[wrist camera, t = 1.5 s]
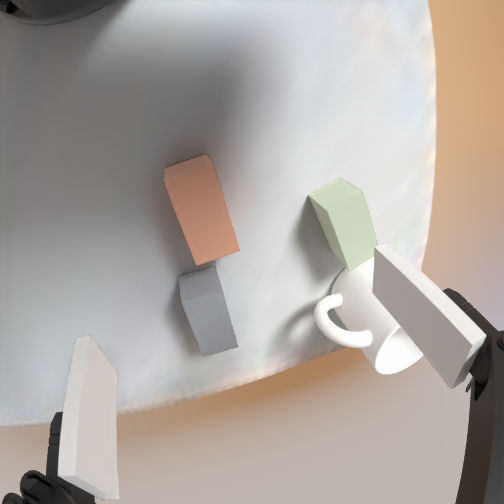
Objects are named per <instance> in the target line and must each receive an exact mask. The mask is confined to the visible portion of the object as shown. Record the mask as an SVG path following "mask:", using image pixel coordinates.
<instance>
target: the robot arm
mask: <svg viewBox="0 0 504 504" xmlns="http://www.w3.org/2000/svg"><path fill="white" fill-rule="evenodd" d="M113 1H115V0H0V13H2V14H3V15H5V16H7V17H9V18H12V19H15V20H17V21H20V22H23V23H27V24H34V25H48V24H57V23H62V22H66V21H70V20H74V19H77V18H80V17H82V16H85V15H88V14H90V13H92V12H94V11H96V10H99V9H101V8H102V7H104V6H106V5H108V4H110V3H111V2H113ZM372 293H373V294H374V296H375V297H376V298H377V299H378V300H379V301H380V303H381V304H382V305H383V306H384V307H385V308H386V310H387V311H388V312H389V313H390V314H391V316H392V317H393V318H394V319H395V320H396V321H397V323H398V324H399V325H400V326H401V327H402V329H403V330H404V331H405V332H406V334H407V335H408V336H409V337H410V338H411V340H412V341H413V342H414V343H415V345H416V346H417V347H418V348H419V350H420V351H421V352H422V353H423V355H424V356H425V357H426V358H427V360H428V361H429V362H430V363H431V365H432V366H433V367H434V368H435V370H436V371H437V372H438V373H439V375H440V376H441V377H442V379H443V380H444V381H445V383H446V384H447V385H448V386H449V388H450V389H452V388H454V387H456V386H457V385H458V384H460V383H461V382H463V381H464V380H465V378H466V376H467V375H468V373H469V372H470V373H471V375H472V376H473V377H472V379H471V381H470V382H469V384H468V386H467V387H466V392H468V390H469V389H470V387H471V397H470V412H469V424H468V434H467V442H466V450H465V456H464V463H463V469H462V475H461V480H460V485H459V490H458V494H457V498H456V503H455V504H504V331H498V330H496V329H495V328H494V327H493V326H492V325H491V324H490V323H489V322H488V321H487V320H486V319H485V318H484V317H483V316H482V315H481V314H480V313H479V312H478V311H477V310H476V309H475V308H473V306H472V305H471V304H470V303H468V302H467V300H466V299H465V298H464V297H462V296H461V295H460V294H459V293H458V292H456V291H454V290H452V289H449V288H447V289H445V290H443V291H441V290H440V289H439V288H438V287H437V286H436V285H435V284H434V283H433V282H432V281H431V280H430V279H428V277H426V276H425V275H424V274H423V273H422V272H421V271H420V270H419V269H418V268H417V267H415V266H414V265H413V264H412V263H411V262H410V261H409V260H408V259H406V258H405V257H404V256H403V255H402V254H401V253H400V252H398V251H397V250H396V249H395V248H394V247H393V246H392V245H390V244H389V243H388V242H387V243H384V244H381V245H378V246H376V247H374V269H373V288H372ZM117 380H118V372H117V371H116V369H115V368H114V367H113V365H112V364H111V363H110V361H109V360H108V359H107V357H106V356H105V355H104V353H103V352H102V350H101V349H100V348H99V346H98V345H97V343H96V342H95V340H94V339H93V338H92V336H91V335H90V334H88V335H85V336H81V337H77V338H76V341H75V346H74V350H73V355H72V360H71V366H70V371H69V377H68V383H67V389H66V395H65V402H64V410H63V412H57V413H56V414H55V416H54V418H53V420H52V422H51V428H50V437H49V446H48V455H47V468H46V476H45V475H43V474H42V473H40V472H38V471H36V470H31V471H28V472H27V473H25V474H24V476H23V477H22V479H21V482H20V491H21V494H22V496H23V497H21V496H19V495H18V494H15V493H8V494H7V495H6V496H5V497H4V499H3V501H2V504H96V503H95V498H94V496H95V497H97V498H99V499H101V500H119V486H118V470H117V437H116V436H117V432H116V431H117V430H116V420H117V419H116V418H117Z"/></svg>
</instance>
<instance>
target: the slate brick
mask: <svg viewBox="0 0 504 504" xmlns="http://www.w3.org/2000/svg"><path fill="white" fill-rule="evenodd" d="M178 277H179V287H180V296H181V303H182V305H183V308H184V311H185V313H186V316H187V318H188V321H189V324H190V326H191V329H192V331H193V334H194V336H195V339H196V341H197V344H198V346H199V348H200V351H201V353H202V356H207V355H211V354H215V353H219V352H222V351H226V350H230V349H233V348H237V347H238V344H237V341H236V337H235V334H234V330H233V327H232V323H231V320H230V316H229V313H228V309H227V305H226V302H225V298H224V294H223V291H222V287H221V284H220V281H219V277H218V274H217V270H216V267H215V266H214V267H210V268H207V269H203V270H199V271H196V272H192V273H188V274H185V275H181V276H178Z"/></svg>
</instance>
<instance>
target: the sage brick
mask: <svg viewBox="0 0 504 504" xmlns="http://www.w3.org/2000/svg"><path fill="white" fill-rule="evenodd" d="M308 196H309V198H310V201H311V203H312V205H313V208H314V210H315V213H316V215H317V217H318V220H319V222H320V225H321V227H322V230H323V232H324V234H325V237H326V239H327V242H328V244H329V247H330V249H331V252H332V253H333V254H334V255H335V256H336V257H337V258H338V260H339V261H340V262H341V263H342V264H343V265H344V266H345V267H346V268H347V270H348V271H349V272H351V271H352V270H354V269H355V268H357V267H359V266H360V265H362V264H363V263H365V262H367V261H368V260H370V259H371V258H373V257H374V247H376V246H378V243H377V239H376V235H375V232H374V228H373V224H372V221H371V217H370V214H369V210H368V207H367V204H366V200H365V197H364V194H363V191H362V190H361V189H359V188H358V187H356V186H354V185H353V184H351V183H350V182H348V181H346V180H345V179H343V178H341V177H339V178H337V179H335V180H333V181H332V182H330V183H328V184H326V185H324V186H323V187H321V188H319V189H317V190H315V191H314V192H312V193H310V194H308Z"/></svg>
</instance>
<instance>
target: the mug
mask: <svg viewBox="0 0 504 504" xmlns="http://www.w3.org/2000/svg"><path fill="white" fill-rule="evenodd" d="M373 269H374V257H373V258H371V259H370V260H368V261H367V262H365V263H363V264H362V265H360V266H359V267H357V268H355V269H354V270H352V271H351V272H349V271H348V270H347V268H345V269H344V270H343V271H342V272H341V273H340V274H339V276H338V277H337V279H336V281H335V283H334V285H333V287H332V291H331V295H329V296H326V297H324V298H323V299H321V300H320V301H319V302H318V303H317V305H316V307H315V310H314V318H315V322H316V324H317V326H318V327H319V329H320V330H321V332H322V333H323V334H324V335H325V336H326V337H328V338H329V339H330V340H332V341H333V342H335V343H337V344H339V345H342V346H345V347H350V348H361V349H362V351H363V352H364V354H365V355H366V357H367V358H368V360H369V361H370V362H371V364H372V365H373V367H374V368H375V370H376V371H377V372H378V373H380V374H384V375H385V374H393V373H397V372H399V371H401V370H404V369H405V368H407V367H409V366H410V365H412V364H413V363H415V362H416V361H417V360H418V359H420V358H421V357H422V356H423V353H422V352H421V351H420V350H419V348H418V347H417V346H416V345H415V343H414V342H413V341H412V340H411V338H410V337H409V336H408V335H407V334H406V332H405V331H404V330H403V329H402V327H401V326H400V325H399V324H398V323H397V321H396V320H395V319H394V318H393V317H392V316H391V314H390V313H389V312H388V311H387V310H386V308H385V307H384V306H383V305H382V304H381V303H380V301H379V300H378V299H377V298H376V297H375V296H374V294H373V293H372V288H373ZM332 308H334V310H335V312H336V313H337V315H338V316H339V318H340V319H341V321H342V322H343V323H344V325H345V326H346V328H347V329H348V331H346V330H343V329H341V328H339V327H338V326H336V325H335V324H334V323H333V322H332V321H331V320H330V319H329V317H328V314H327V311H328V310H330V309H332Z"/></svg>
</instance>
